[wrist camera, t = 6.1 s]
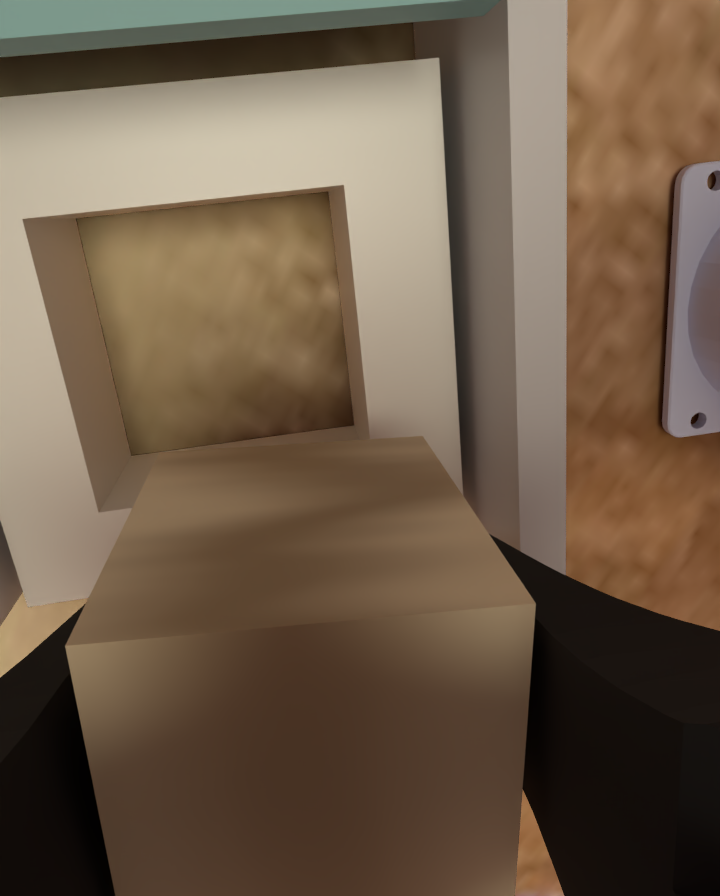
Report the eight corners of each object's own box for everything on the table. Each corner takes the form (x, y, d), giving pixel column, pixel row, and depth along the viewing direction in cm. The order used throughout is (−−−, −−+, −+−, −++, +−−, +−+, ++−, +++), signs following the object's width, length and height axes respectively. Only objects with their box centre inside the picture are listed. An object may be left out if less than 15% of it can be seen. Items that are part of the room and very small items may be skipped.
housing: (420, -620, 13) (570, -1446, 7) (473, 475, 21) (566, 592, 15) (-331, -620, 12) (-1054, -1629, 5) (24, 541, 20) (-95, 700, 13)
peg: (422, 435, 13) (535, 603, 7) (421, 652, 15) (513, 924, 9) (159, 452, 12) (65, 646, 7) (188, 674, 14) (131, 979, 8)
